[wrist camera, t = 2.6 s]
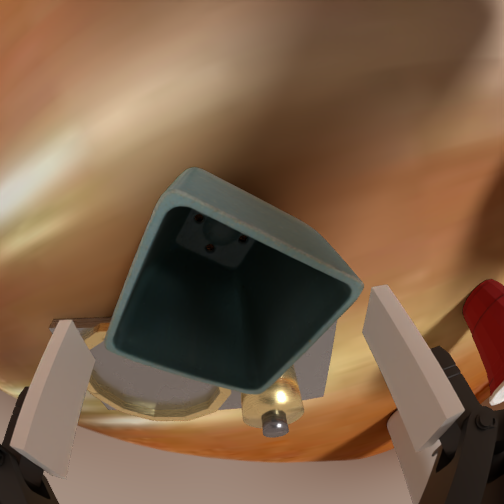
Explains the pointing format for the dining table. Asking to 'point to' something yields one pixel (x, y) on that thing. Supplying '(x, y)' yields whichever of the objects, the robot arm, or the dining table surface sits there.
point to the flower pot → (227, 288)
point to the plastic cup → (488, 332)
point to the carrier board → (200, 385)
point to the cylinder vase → (411, 457)
